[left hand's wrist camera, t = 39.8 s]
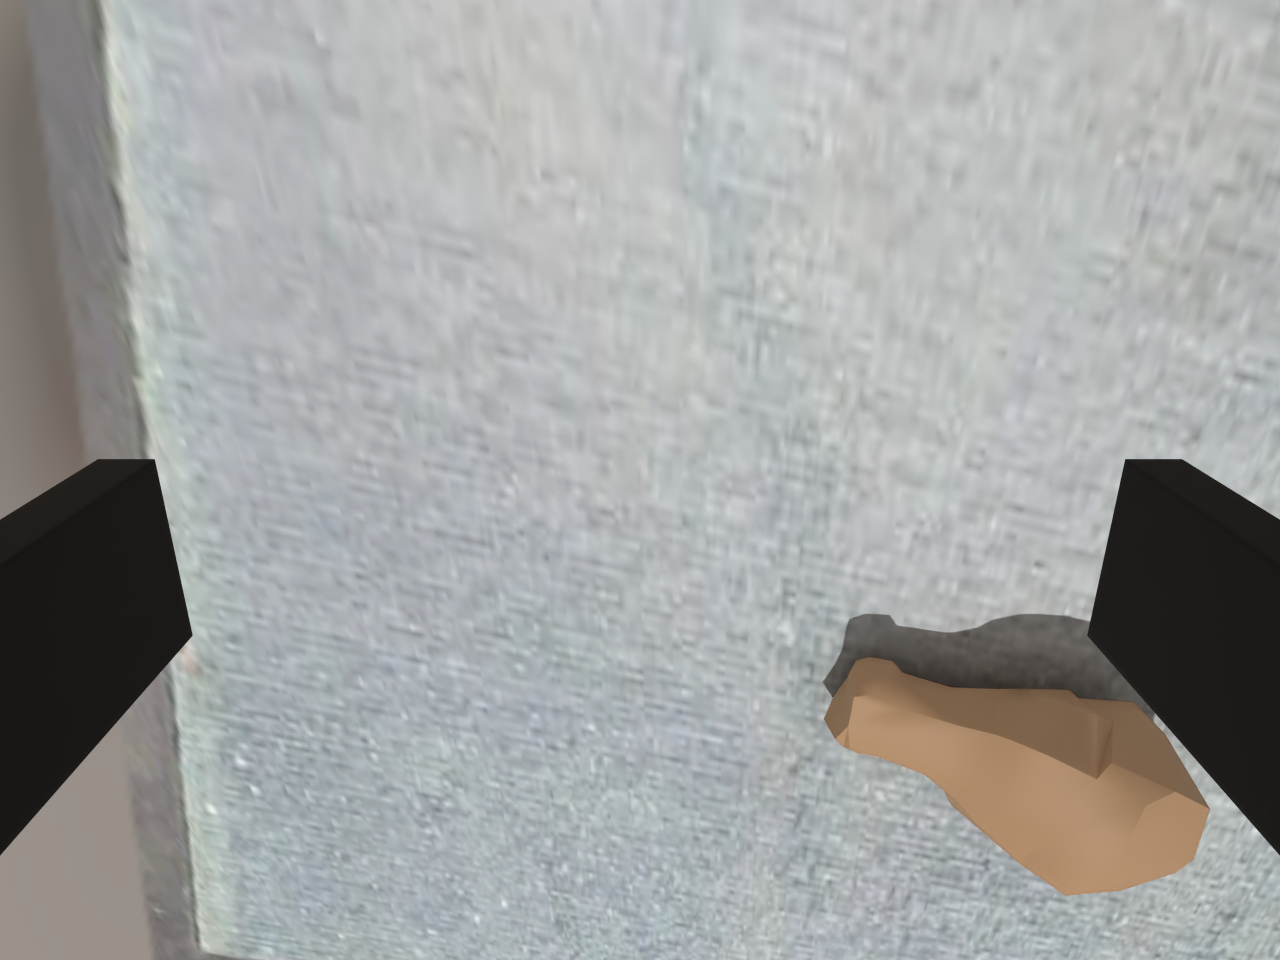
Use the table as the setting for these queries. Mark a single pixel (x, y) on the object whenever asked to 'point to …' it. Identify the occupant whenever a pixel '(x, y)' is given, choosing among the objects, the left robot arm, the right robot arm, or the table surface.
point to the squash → (1035, 772)
